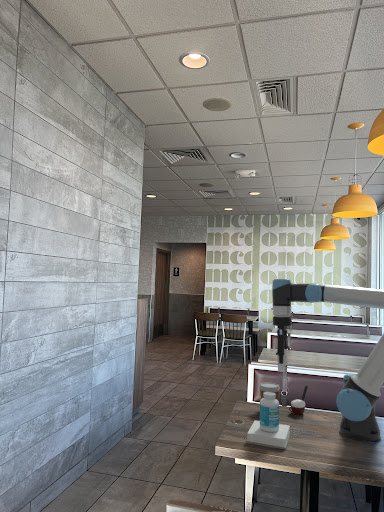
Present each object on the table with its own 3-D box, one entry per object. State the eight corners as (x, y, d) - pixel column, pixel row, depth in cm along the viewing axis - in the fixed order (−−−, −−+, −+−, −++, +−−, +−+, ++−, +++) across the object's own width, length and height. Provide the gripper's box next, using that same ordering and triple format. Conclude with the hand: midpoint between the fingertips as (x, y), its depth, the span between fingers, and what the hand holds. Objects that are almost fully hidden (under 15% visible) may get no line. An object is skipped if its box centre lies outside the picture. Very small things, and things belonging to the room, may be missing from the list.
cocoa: (290, 416, 171) (289, 389, 171) (287, 411, 177) (286, 385, 177) (311, 416, 170) (310, 389, 171) (307, 410, 176) (306, 385, 177)
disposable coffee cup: (280, 415, 171) (280, 388, 171) (258, 413, 173) (258, 386, 173) (279, 408, 180) (279, 382, 181) (259, 406, 182) (259, 381, 183)
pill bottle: (271, 434, 141) (271, 397, 142) (255, 428, 146) (255, 393, 147) (283, 429, 146) (283, 393, 147) (267, 423, 151) (267, 389, 152)
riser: (290, 434, 150) (290, 425, 150) (285, 449, 136) (285, 439, 137) (254, 428, 155) (254, 420, 155) (246, 442, 141) (246, 433, 142)
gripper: (275, 313, 170) (276, 361, 168) (269, 318, 146) (270, 374, 144) (293, 313, 167) (294, 362, 166) (289, 319, 144) (290, 375, 142)
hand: (282, 368), depth 155 cm, fingers open, 13 cm apart
